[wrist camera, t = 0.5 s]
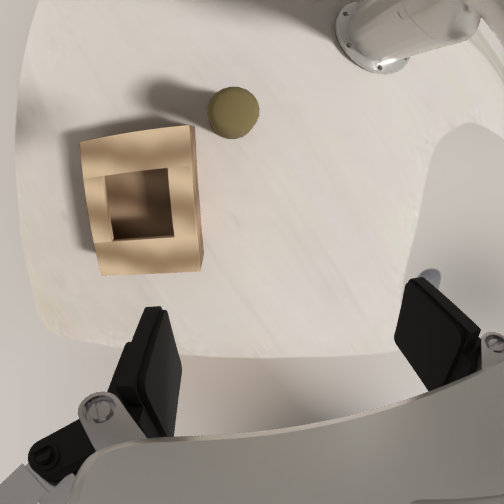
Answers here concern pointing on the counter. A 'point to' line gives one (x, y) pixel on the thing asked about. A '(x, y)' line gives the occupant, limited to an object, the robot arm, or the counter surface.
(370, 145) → the counter surface
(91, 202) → the drop box
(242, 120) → the cork
